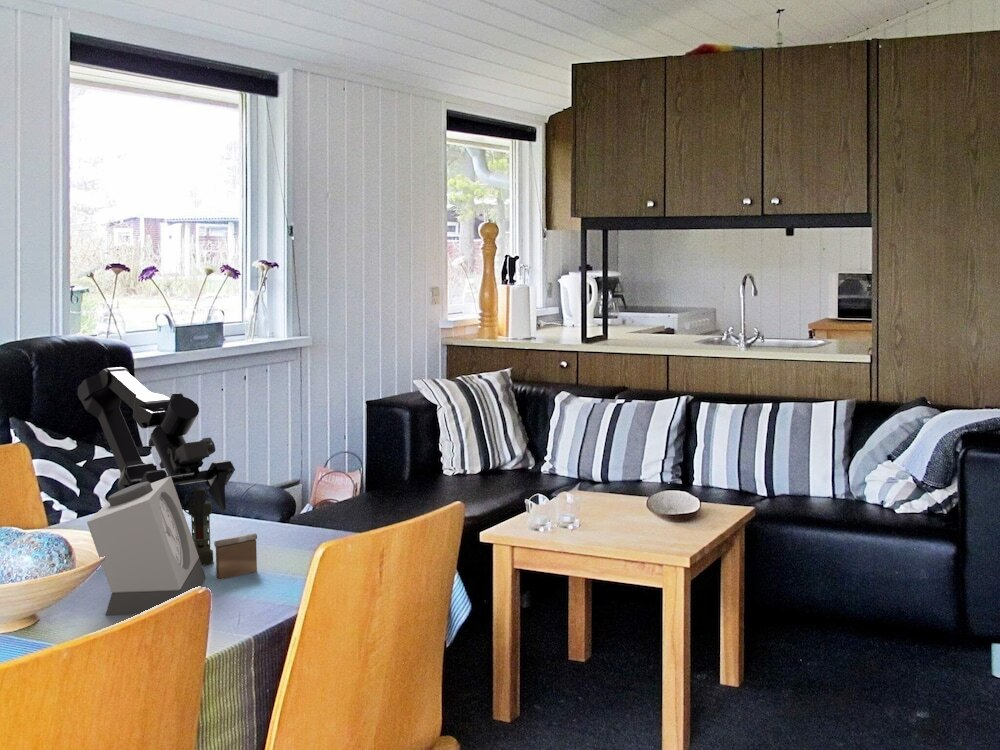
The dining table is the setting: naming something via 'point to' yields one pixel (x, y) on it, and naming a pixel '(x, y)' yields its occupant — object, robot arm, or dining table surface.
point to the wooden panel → (236, 556)
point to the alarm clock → (145, 547)
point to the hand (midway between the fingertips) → (203, 514)
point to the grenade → (200, 523)
